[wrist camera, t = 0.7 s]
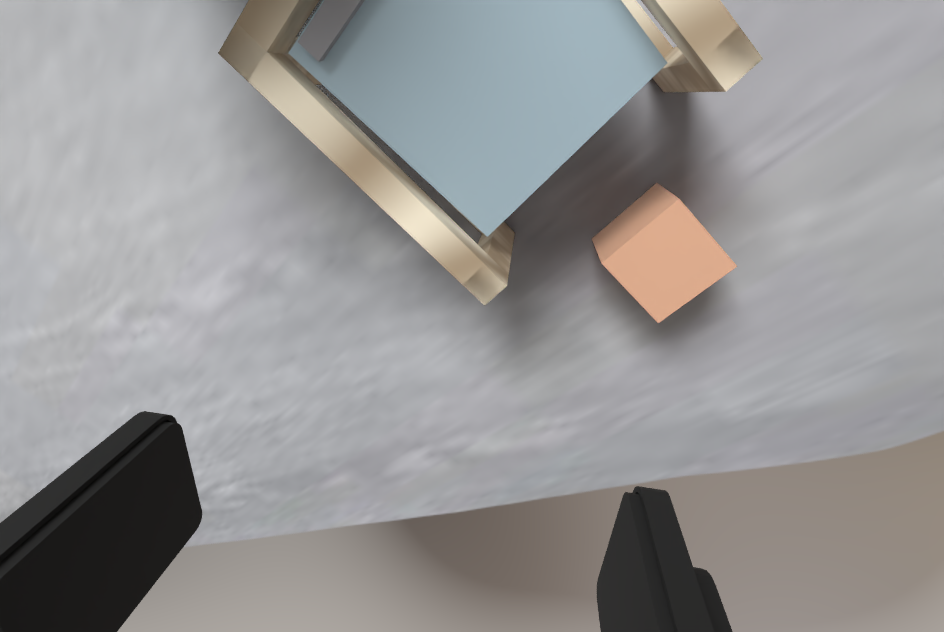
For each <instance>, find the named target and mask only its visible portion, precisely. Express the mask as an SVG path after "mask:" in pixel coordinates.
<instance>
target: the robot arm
mask: <svg viewBox="0 0 944 632" xmlns="http://www.w3.org/2000/svg"><path fill="white" fill-rule="evenodd" d="M201 519H202V509H201V505H200V501H199V497H198V493H197V488H196V484H195V480H194V476H193V472H192V468H191V463H190V459H189V455H188V451H187V447H186V443H185V438H184V434H183V430H182V427H181V425H180V424H178V423H177V421H176V419H175V418H174V417H173V416H171V415H166V414H159V413H153V412H146V411H144V412H140V413H138V414H137V415H135V416H134V417H133V418H131V419H130V420H129V421H128V422H126V423H125V424H124V425H123V426H121V427H120V428H119V429H117V430H116V431H115V432H114V433H112V434H111V435H110V436H109V437H107V438H106V439H105V440H104V441H102V442H101V443H100V444H99V445H97V446H96V447H95V448H94V449H92V450H91V451H90V452H89V453H87V454H86V455H85V456H84V457H82V458H81V459H80V460H79V461H77V462H76V463H75V464H74V465H72V466H71V467H70V468H69V469H67V470H66V471H65V472H64V473H62V474H61V475H60V476H59V477H57V478H56V479H55V480H54V481H52V482H51V483H50V484H49V485H47V486H46V487H45V488H44V489H42V490H41V491H40V492H39V493H37V494H36V495H35V496H34V497H32V498H31V499H30V500H29V501H27V502H26V503H25V504H24V505H22V506H21V507H20V508H19V509H17V510H16V511H15V512H14V513H12V514H11V515H10V516H9V517H7V518H6V519H5V520H4V521H2V522H1V523H0V632H117V631H118V630H119V628H120V627H121V626H122V625H123V623H124V622H125V621H126V619H127V618H128V617H129V616H130V614H131V613H132V612H133V610H134V609H135V608H136V607H137V605H138V604H139V603H140V602H141V600H142V599H143V598H144V596H145V595H146V594H147V593H148V591H149V590H150V589H151V588H152V586H153V585H154V584H155V582H156V581H157V580H158V578H159V577H160V576H161V574H162V573H163V572H164V571H165V570H166V568H167V567H168V566H169V564H170V563H171V562H172V561H173V559H174V558H175V557H176V555H177V554H178V553H179V552H180V550H181V549H182V548H183V547H184V545H185V544H186V543H187V541H188V540H189V539H190V538H191V536H192V535H193V534H194V533H195V531H196V530H197V528H198V527H199V524H200V522H201ZM597 603H598V611H599V620H600V628H601V632H732V629H731V626H730V624H729V621H728V618H727V615H726V613H725V610H724V607H723V604H722V602H721V599H720V596H719V593H718V591H717V588H716V585H715V583H714V581H713V579H712V577H711V575H710V574H709V573H708V572H707V570H704V569H701V568H695V567H693V566H692V563H691V560H690V556H689V554H688V550H687V547H686V544H685V541H684V538H683V535H682V532H681V529H680V526H679V523H678V520H677V517H676V514H675V511H674V508H673V505H672V502H671V499H670V496H669V494H668V492H666V491H665V490H658V489H652V488H645V487H639V486H637V487H635V488H634V490H633V493H628V492H625V493H624V495H623V498H622V501H621V505H620V508H619V511H618V514H617V518H616V521H615V524H614V528H613V531H612V534H611V538H610V541H609V544H608V548H607V551H606V554H605V557H604V561H603V564H602V567H601V571H600V574H599V577H598V582H597Z"/></svg>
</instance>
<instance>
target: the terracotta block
mask: <svg viewBox="0 0 944 632" xmlns="http://www.w3.org/2000/svg"><path fill="white" fill-rule="evenodd" d="M592 241H593V243H594V246H595V248H596V251H597V253H598V256H599V258H600V261H601V263H602V264H603V265H604V267H605V268H606V269H607V270H608V271H609V272H610V273H611V274H612V275H613V276H614V277H615V278H616V279H617V280H618V281H619V282H620V283H621V284H622V286H623V287H624V288H625V289H626V290H627V291H628V292H629V293H630V294H631V295H632V296H633V297H634V298H635V299H636V300H637V301H638V302H639V304H640V305H641V306H642V307H643V308H644V309H645V310H646V311H647V312H648V313H649V314H650V315H651V316H652V317H653V318H654V319H655V320H656V321H657V323H659V322H661V321H662V320H664V319H665V318H666V317H668V316H669V315H671V314H672V313H673V312H675V311H676V310H677V309H679V308H680V307H682V306H683V305H684V304H686V303H687V302H689V301H690V300H691V299H693V298H694V297H695V296H697V295H698V294H700V293H701V292H702V291H704V290H705V289H707V288H708V287H709V286H711V285H712V284H714V283H715V282H716V281H718V280H719V279H720V278H722V277H723V276H725V275H726V274H727V273H729V272H730V271H732V270H733V269H734V268H736V267H737V265H736V264H735V263H734V262H733V261H732V260H731V258H730V257H729V256H728V255H727V254H726V253H725V251H724V250H723V249H722V248H721V247H720V246H719V244H718V243H717V242H716V241H715V240H714V239H713V237H712V236H711V235H710V234H709V233H708V232H707V230H706V229H705V228H704V227H703V226H702V225H701V223H700V222H699V221H698V220H697V219H696V218H695V216H694V215H693V214H692V213H691V212H690V211H689V209H688V208H687V207H686V206H685V205H684V204H683V202H682V201H681V200H680V199H679V198H678V197H676V196H675V195H673V194H672V193H671V192H669V191H668V190H667V189H665V188H664V187H662V186H661V185H660V184H658V183H656V184H655V185H654V186H652V187H651V188H650V189H649V190H648V191H647V192H645V193H644V194H643V195H642V196H641V197H640V198H638V199H637V200H636V201H635V202H634V203H633V204H631V205H630V206H629V207H628V208H627V209H626V210H624V211H623V212H622V213H621V214H620V215H619V216H617V217H616V218H615V219H614V220H613V221H612V222H610V223H609V224H608V225H607V226H606V227H605V228H603V229H602V230H601V231H600V232H599V233H598V234H597V235H595V236H594V237H593V238H592Z"/></svg>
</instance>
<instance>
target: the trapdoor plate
mask: <svg viewBox="0 0 944 632" xmlns="http://www.w3.org/2000/svg"><path fill="white" fill-rule="evenodd" d="M289 54H290V55H291V56H292V57H293V58H294V59H295V60H296V61H297V62H298V63H300V64H301V65H302V66H303V67H304V68H305V69H306V70H307V71H308V72H309V73H310V74H311V75H313V76H314V77H315V78H316V79H317V80H318V81H319V82H320V83H321V84H322V85H323V86H324V87H326V88H327V89H328V90H329V91H330V92H331V93H332V94H333V95H334V96H335V97H336V98H337V99H339V100H340V101H341V102H342V103H343V104H344V105H345V106H346V107H347V108H348V109H349V110H350V111H351V112H353V113H354V114H355V115H356V116H357V117H358V118H359V119H360V120H361V121H362V122H363V123H364V124H366V125H367V126H368V127H369V128H370V129H371V130H372V131H373V132H374V133H375V134H376V135H377V136H379V137H380V138H381V139H382V140H383V141H384V142H385V143H386V144H387V145H388V146H389V147H390V148H392V149H393V150H394V151H395V152H396V153H397V154H398V155H399V156H400V157H401V158H402V159H403V160H405V161H406V162H407V163H408V164H409V165H410V166H411V167H412V168H413V169H414V170H415V171H416V172H418V173H419V174H420V175H421V176H422V177H423V178H424V179H425V180H426V181H427V182H428V183H429V184H431V185H432V186H433V187H434V188H435V189H436V190H437V191H438V192H439V193H440V194H441V195H442V196H444V197H445V198H446V199H447V200H448V201H449V202H450V203H451V204H452V205H453V206H454V207H455V208H457V209H458V210H459V211H460V212H461V213H462V214H463V215H464V216H465V217H466V218H467V219H468V220H469V221H471V222H472V223H473V224H474V225H475V226H476V227H477V228H478V229H479V230H480V231H481V232H482V233H484V234H485V235H486V236H487V237H488V236H489V235H490V234H491V233H492V232H493V231H494V230H495V229H496V228H497V227H498V226H499V225H500V224H501V223H502V222H503V221H504V220H505V219H507V218H508V217H509V216H510V215H511V214H512V213H513V212H514V211H515V210H516V209H517V208H518V207H519V206H520V205H521V204H522V203H523V202H524V201H525V200H526V199H527V198H528V197H529V196H530V195H531V194H532V193H533V192H534V191H536V190H537V189H538V188H539V187H540V186H541V185H542V184H543V183H544V182H545V181H546V180H547V179H548V178H549V177H550V176H551V175H552V174H553V173H554V172H555V171H556V170H557V169H558V168H559V167H560V166H561V165H562V164H563V163H565V162H566V161H567V160H568V159H569V158H570V157H571V156H572V155H573V154H574V153H575V152H576V151H577V150H578V149H579V148H580V147H581V146H582V145H583V144H584V143H585V142H586V141H587V140H588V139H589V138H590V137H591V136H593V135H594V134H595V133H596V132H597V131H598V130H599V129H600V128H601V127H602V126H603V125H604V124H605V123H606V122H607V121H608V120H609V119H610V118H611V117H612V116H613V115H614V114H615V113H616V112H617V111H618V110H619V109H620V108H622V107H623V106H624V105H625V104H626V103H627V102H628V101H629V100H630V99H631V98H632V97H633V96H634V95H635V94H636V93H637V92H638V91H639V90H640V89H641V88H642V87H643V86H644V85H645V84H646V83H647V82H648V81H649V80H651V79H652V78H653V77H654V76H655V75H656V74H657V73H658V72H659V71H660V70H661V69H662V68H663V67H664V66H665V65H666V64H667V61H666V60H665V59H664V57H663V56H662V55H661V53H660V52H659V51H658V49H657V48H656V46H655V45H654V44H653V42H652V41H651V40H650V38H649V37H648V36H647V34H646V33H645V32H644V30H643V29H642V28H641V26H640V25H639V24H638V22H637V21H636V19H635V18H634V17H633V15H632V14H631V13H630V11H629V10H628V9H627V7H626V6H625V5H624V3H623V2H622V1H621V0H323V1H322V2H321V4H320V5H319V7H318V8H317V10H316V11H315V13H314V14H313V16H312V17H311V19H310V21H309V22H308V24H307V25H306V27H305V28H304V30H303V31H302V33H301V34H300V36H299V37H298V39H297V40H296V42H295V44H294V45H293V47H292V48H291V50H290V51H289Z"/></svg>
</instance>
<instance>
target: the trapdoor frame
mask: <svg viewBox="0 0 944 632" xmlns="http://www.w3.org/2000/svg"><path fill="white" fill-rule="evenodd" d="M621 1H622V2H623V3H624V5H625V6H626V7H627V9H628V10H629V11H630V13H631V14H632V15H633V17H634V18H635V19H636V21H637V22H638V24H639V25H640V26H641V28H642V29H643V30H644V32H645V33H646V34H647V36H648V37H649V38H650V40H651V41H652V42H653V44H654V45H655V46H656V48H657V49H658V51H659V52H660V53H661V55H662V56H663V57H664V59H665V60H666V61H667V64H666V65H665V66H664V67H663V68H662V69H661V70H660V71H659V72H658V73H657V74H656V75H655V76H654V77H653V79H654V81H655V82H656V83H657V84H658V86H659V87H660V88H661V89H662V91H663V92H726V91H727V90H728V89H729V88H731V87H732V86H733V85H734V84H735V83H736V82H737V81H738V80H740V79H741V78H742V77H743V76H744V75H745V74H746V73H747V72H749V71H750V70H751V69H752V68H753V67H754V66H755V65H756V64H758V63H759V62H760V61H761V60H762V59H763V58H762V57H761V55H760V54H759V53H758V51H757V50H756V49H755V47H754V46H753V45H752V43H751V42H750V40H749V39H748V38H747V36H746V35H745V34H744V32H743V31H742V30H741V28H740V27H739V25H738V24H737V23H736V21H735V20H734V19H733V17H732V16H731V15H730V13H729V12H728V11H727V9H726V8H725V6H724V5H723V4H722V2H721V1H720V0H641V1H642V2H643V3H644V4H645V6H646V7H647V8H648V10H649V11H650V12H651V13H652V15H653V16H654V17H655V19H656V20H657V21H658V22H659V24H660V25H661V26H662V28H663V29H664V30H665V31H666V33H667V34H668V35H669V37H670V38H671V39H672V40H673V42H674V43H675V44H676V45H677V47H674V48H673V47H672V46H671V45H670V43H669V42H668V41H667V39H666V38H665V37H664V36H663V34H662V33H661V32H660V30H659V29H658V28H657V27H656V25H655V24H654V23H653V22H652V20H651V19H650V18H649V16H648V15H647V14H646V13H645V11H644V10H643V9H642V8H641V6H640V5H639V4H638V2H637V1H636V0H621ZM318 2H319V0H249V1H248V3H247V4H246V6H245V8H244V10H243V11H242V13H241V15H240V16H239V18H238V20H237V22H236V23H235V25H234V27H233V28H232V30H231V32H230V34H229V35H228V37H227V39H226V40H225V42H224V44H223V46H222V47H221V49H220V51H219V53H218V54H219V55H221V56H222V57H223V58H224V59H225V60H226V61H227V62H228V63H229V64H230V65H231V66H232V67H233V68H234V69H235V70H236V71H237V72H238V73H240V74H241V75H242V76H243V77H244V78H245V79H246V80H247V81H248V82H249V83H250V84H251V85H252V86H253V87H254V88H255V89H256V90H257V91H259V92H260V93H261V94H262V95H263V96H264V97H265V98H266V99H267V100H268V101H269V102H270V103H271V104H272V105H273V106H274V107H275V108H276V109H278V110H279V111H280V112H281V113H282V114H283V115H284V116H285V117H286V118H287V119H288V120H289V121H290V122H291V123H292V124H293V125H294V126H295V127H297V128H298V129H299V130H300V131H301V132H302V133H303V134H304V135H305V136H306V137H307V138H308V139H309V140H310V141H311V142H312V143H313V144H314V145H316V146H317V147H318V148H319V149H320V150H321V151H322V152H323V153H324V154H325V155H326V156H327V157H328V158H329V159H330V160H331V161H332V162H333V163H335V164H336V165H337V166H338V167H339V168H340V169H341V170H342V171H343V172H344V173H345V174H346V175H347V176H348V177H349V178H350V179H351V180H352V181H354V182H355V183H356V184H357V185H358V186H359V187H360V188H361V189H362V190H363V191H364V192H365V193H366V194H367V195H368V196H369V197H370V198H371V199H373V200H374V201H375V202H376V203H377V204H378V205H379V206H380V207H381V208H382V209H383V210H384V211H385V212H386V213H387V214H388V215H389V216H390V217H392V218H393V219H394V220H395V221H396V222H397V223H398V224H399V225H400V226H401V227H402V228H403V229H404V230H405V231H406V232H407V233H408V234H409V235H411V236H412V237H413V238H414V239H415V240H416V241H417V242H418V243H419V244H420V245H421V246H422V247H423V248H424V249H425V250H426V251H427V252H428V253H430V254H431V255H432V256H433V257H434V258H435V259H436V260H437V261H438V262H439V263H440V264H441V265H442V266H443V267H444V268H445V269H446V270H447V271H449V272H450V273H451V274H452V275H453V276H454V277H455V278H456V279H457V280H458V281H459V282H460V283H461V284H462V285H463V286H464V287H465V288H466V289H468V290H469V291H470V292H471V293H472V294H473V295H474V296H475V297H476V298H477V299H478V300H479V301H480V302H481V303H482V304H483V305H484V306H485V305H486V304H487V303H488V302H490V301H491V300H492V299H493V298H494V297H495V296H496V295H497V294H499V293H500V292H501V291H502V290H503V289H504V288H505V287H506V286H507V282H508V276H509V269H510V262H511V255H512V248H513V242H514V235H515V232H514V231H513V230H512V229H511V228H510V227H509V226H508V225H507V224H506V223H505V222H504V221H503V222H502V223H501V224H500V225H499V226H498V227H497V228H496V229H495V230H494V231H493V232H492V233H491V234H490V235H489V236H488V237H487V236H486V235H485V234H484V233H482V232H481V231H480V230H479V229H478V228H477V227H476V226H475V225H474V224H473V223H472V222H471V221H469V220H468V219H467V218H466V217H465V216H464V215H463V214H462V213H461V212H460V211H459V210H458V209H457V208H455V207H454V206H453V205H452V204H451V203H450V202H449V201H448V200H447V199H446V198H445V197H444V196H443V197H444V198H445V199H446V200H447V201H448V202H449V203H450V204H451V205H452V206H453V207H454V208H455V209H456V210H457V211H458V212H459V213H460V214H461V215H462V216H463V217H464V218H465V219H466V220H467V221H468V222H469V223H470V224H472V225H473V226H474V227H475V228H476V229H477V230H478V231H479V232H480V233H481V234H482V235H481V237H480V240H479V243H478V244H477V243H476V242H475V241H474V240H473V239H472V238H470V237H469V236H468V235H467V234H466V233H465V232H464V231H463V230H462V229H461V228H460V227H459V226H458V225H457V224H456V223H455V222H454V221H453V220H452V219H451V218H450V217H449V216H448V215H447V214H446V213H445V212H444V211H443V210H442V209H441V208H440V207H439V206H438V205H437V204H436V203H435V202H434V201H433V200H432V199H431V198H430V197H429V196H428V195H427V194H426V193H425V192H424V191H423V190H422V189H421V188H420V187H419V186H418V185H417V184H416V183H415V182H414V181H413V180H412V179H410V178H409V177H408V176H407V175H406V174H405V173H404V172H403V171H402V170H401V169H400V168H399V167H398V166H397V165H396V164H395V163H394V162H393V161H392V160H391V159H390V158H389V157H388V156H387V155H386V154H385V153H384V152H383V151H382V150H381V149H380V148H379V147H378V146H377V145H376V144H375V143H374V142H373V141H372V140H371V139H370V138H369V137H368V136H367V135H366V134H365V133H364V132H363V131H362V130H361V129H360V128H359V127H358V126H357V125H356V124H355V123H354V122H353V121H352V120H350V119H349V118H348V117H347V116H346V115H345V114H344V113H343V112H342V111H341V110H340V109H339V108H338V107H337V106H336V105H335V104H334V103H333V102H332V101H331V100H330V99H329V98H328V97H327V96H326V95H325V94H324V93H323V92H322V91H321V90H320V89H319V88H318V87H317V86H316V85H315V84H317V85H322V84H321V83H320V82H319V81H318V80H317V79H316V78H315V77H314V76H313V75H311V74H310V73H309V72H308V71H307V70H306V69H305V68H304V67H303V66H302V65H301V64H300V63H298V62H297V61H296V60H295V59H294V58H293V57H292V56H291V55H290V54H289V51H290V50H291V48H292V47H293V45H294V44H295V42H296V40H297V39H298V37H296V36H297V34H298V33H299V31H300V30H301V28H302V27H303V25H304V23H305V22H306V20H307V19H308V17H309V16H310V14H311V13H312V11H313V10H314V8H315V7H316V5H317V3H318Z"/></svg>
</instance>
